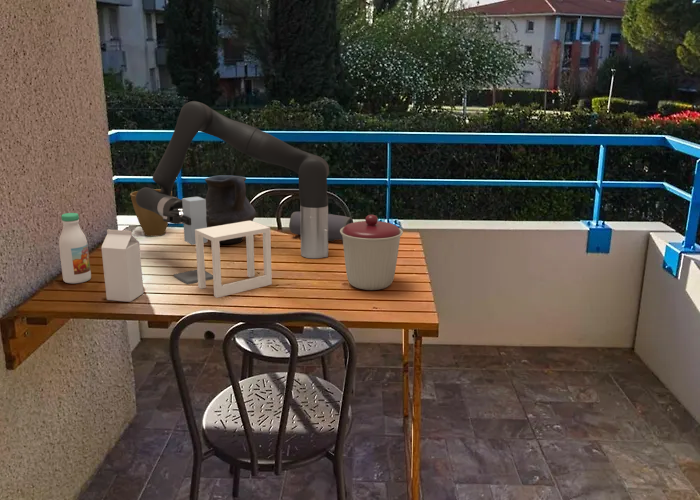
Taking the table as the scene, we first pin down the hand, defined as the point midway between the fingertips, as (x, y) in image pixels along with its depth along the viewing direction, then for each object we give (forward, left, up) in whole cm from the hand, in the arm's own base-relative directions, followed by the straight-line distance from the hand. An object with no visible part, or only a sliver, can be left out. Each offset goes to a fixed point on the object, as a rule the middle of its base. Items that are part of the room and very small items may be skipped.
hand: (198, 220), depth 185 cm
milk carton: (+18, +16, -18) cm, 30 cm away
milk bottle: (+37, +2, -18) cm, 41 cm away
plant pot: (+30, -52, -18) cm, 63 cm away
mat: (+3, -1, -18) cm, 18 cm away
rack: (-11, +6, -18) cm, 22 cm away
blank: (+2, -2, -7) cm, 7 cm away
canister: (-50, +4, -18) cm, 54 cm away
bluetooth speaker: (-34, -46, -18) cm, 60 cm away
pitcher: (0, -42, -18) cm, 46 cm away
